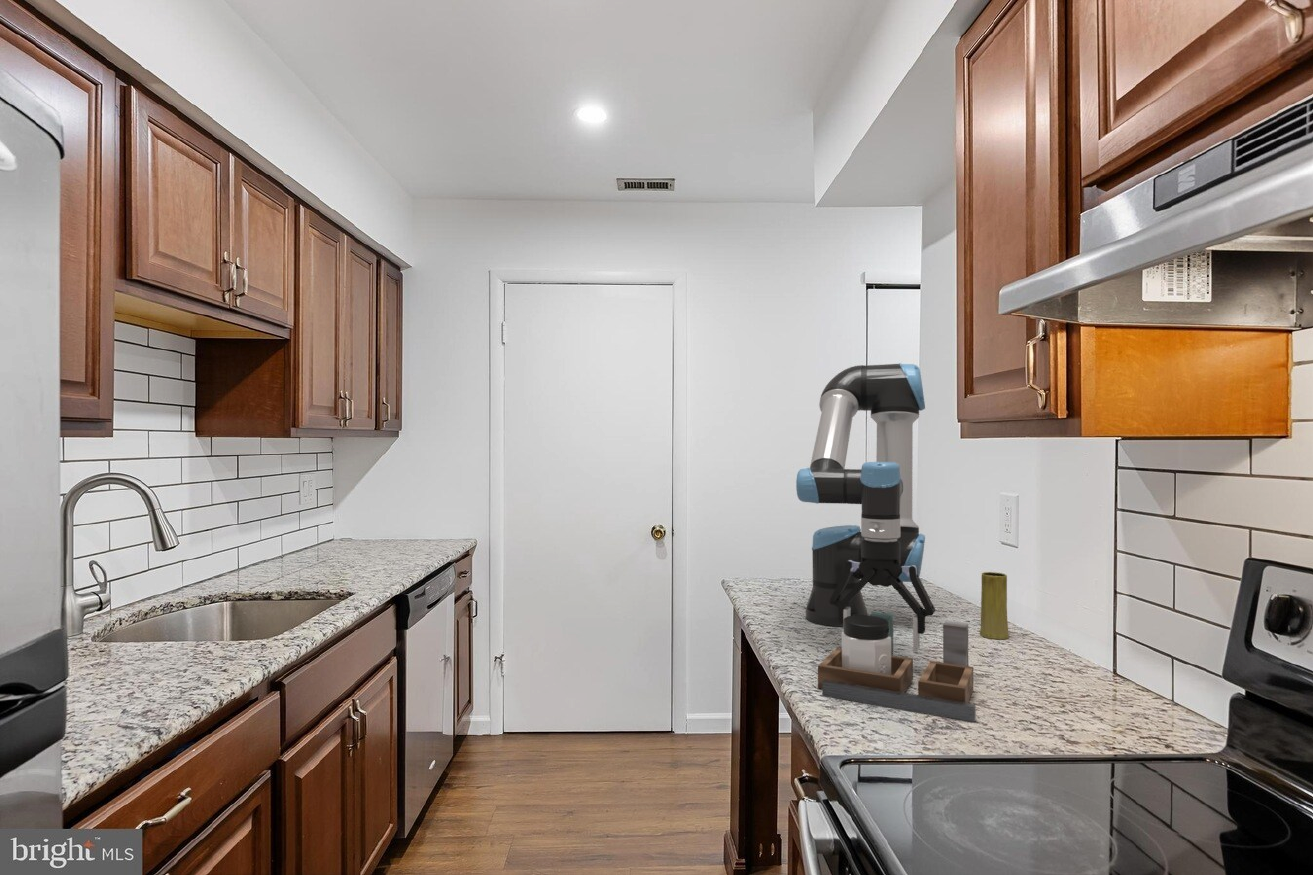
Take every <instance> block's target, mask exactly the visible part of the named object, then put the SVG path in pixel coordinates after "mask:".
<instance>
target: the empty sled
mask: <svg viewBox="0 0 1313 875" xmlns="http://www.w3.org/2000/svg"><path fill="white" fill-rule="evenodd" d="M942 647H943V648H942V656H943V657H942V662H941V661H933V660H930V661H929V663H928V664H927V666H926V667H925V669H924V671H923V673H922V674H921V676H920V677H919V679H918V680H917V681H918V682H917V693H918V694H917V695H922V696H928V697H934V698H940V699H946V700H952V701H958V702H964V703H970V700H971V696H972V694H973V691H974V666H971V665H970V666H969V622H967V621H966V622H965V621H955V620H946V619H945V621H944V623H943V624H942Z"/></svg>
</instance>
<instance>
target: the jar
mask: <svg viewBox="0 0 1313 875" xmlns="http://www.w3.org/2000/svg"><path fill="white" fill-rule="evenodd" d="M841 648H842V668H848V669H855V670H861V671H868V672H874V673H881V674H888V675H891V637H890V636H889V622H888V621H887V620H886V619H883V618H880V617H875V616H869V615H868V616H867V615H854V616H848V617H846V618H844V631H843V630H842V631H841Z"/></svg>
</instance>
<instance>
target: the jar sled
mask: <svg viewBox="0 0 1313 875" xmlns="http://www.w3.org/2000/svg"><path fill="white" fill-rule="evenodd" d="M868 616H875V617H880V618H883V619H886V620H887V621H888V622H889V636H890V637H891V675H888V674H881V673H874V672H868V671H861V670H855V669H848V668H842V647H836V648H835V649H834V650H833V651H832V652H831V653H830V654H829V655H828V656H827V657H826V658H824V659H823V660H822V661H821V662H820V663H819V664H818V665H817V688H818V689H822V682H823V681H824V680H830V681H836V682H842V683H848V684H854V685H860V686H866V687H873V688H879V689H885V690H891V691H897V692H903V693H907V690H908V689H909V687H910V685H911V684H912V681H913V680H914V659H913V658H912V657H906V656H897V655H894V613H886V612H875V611H873V612H871V613H870V614H869V615H868Z"/></svg>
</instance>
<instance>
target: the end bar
mask: <svg viewBox="0 0 1313 875" xmlns="http://www.w3.org/2000/svg"><path fill="white" fill-rule="evenodd" d="M821 690H822V692H821V696H822V697H828V698H834V699H839V700H845V701H850V702H857V703H864V704H869V705H873V706H874V705H875V706H879V707H886V708H892V709H897V710H903V711H909V712H914V713H921V714H926V715H931V716H937V717H943V718H948V719H952V720H953V719H955V720H959V721H960V720H961V721H967V722H971V723H975V722H976V719H977V718H976V714H977V713H976V712H977V711H976V707H977V706H976V704H975V703H970V702H969V703H964V702H958V701H952V700H946V699H940V698H934V697H928V696H922V695H918V694H913V693H909V692H905V693H903V692H897V691H891V690H885V689H879V688H873V687H866V686H860V685H854V684H848V683H842V682H836V681H830V680H824V681H823V682H822V688H821Z"/></svg>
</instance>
